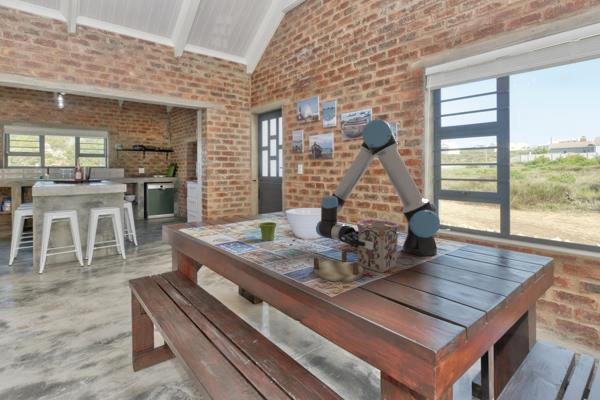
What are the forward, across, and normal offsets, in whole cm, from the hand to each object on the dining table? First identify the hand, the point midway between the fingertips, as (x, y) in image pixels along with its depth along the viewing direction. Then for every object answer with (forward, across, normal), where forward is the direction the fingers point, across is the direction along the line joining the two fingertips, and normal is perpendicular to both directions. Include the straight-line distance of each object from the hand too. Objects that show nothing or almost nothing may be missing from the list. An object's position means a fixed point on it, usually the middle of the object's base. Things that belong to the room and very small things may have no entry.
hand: (383, 243), depth 125 cm
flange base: (-7, +18, -10) cm, 22 cm away
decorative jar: (-3, 0, -10) cm, 11 cm away
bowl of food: (-23, -25, -10) cm, 36 cm away
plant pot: (-66, +11, -10) cm, 68 cm away
